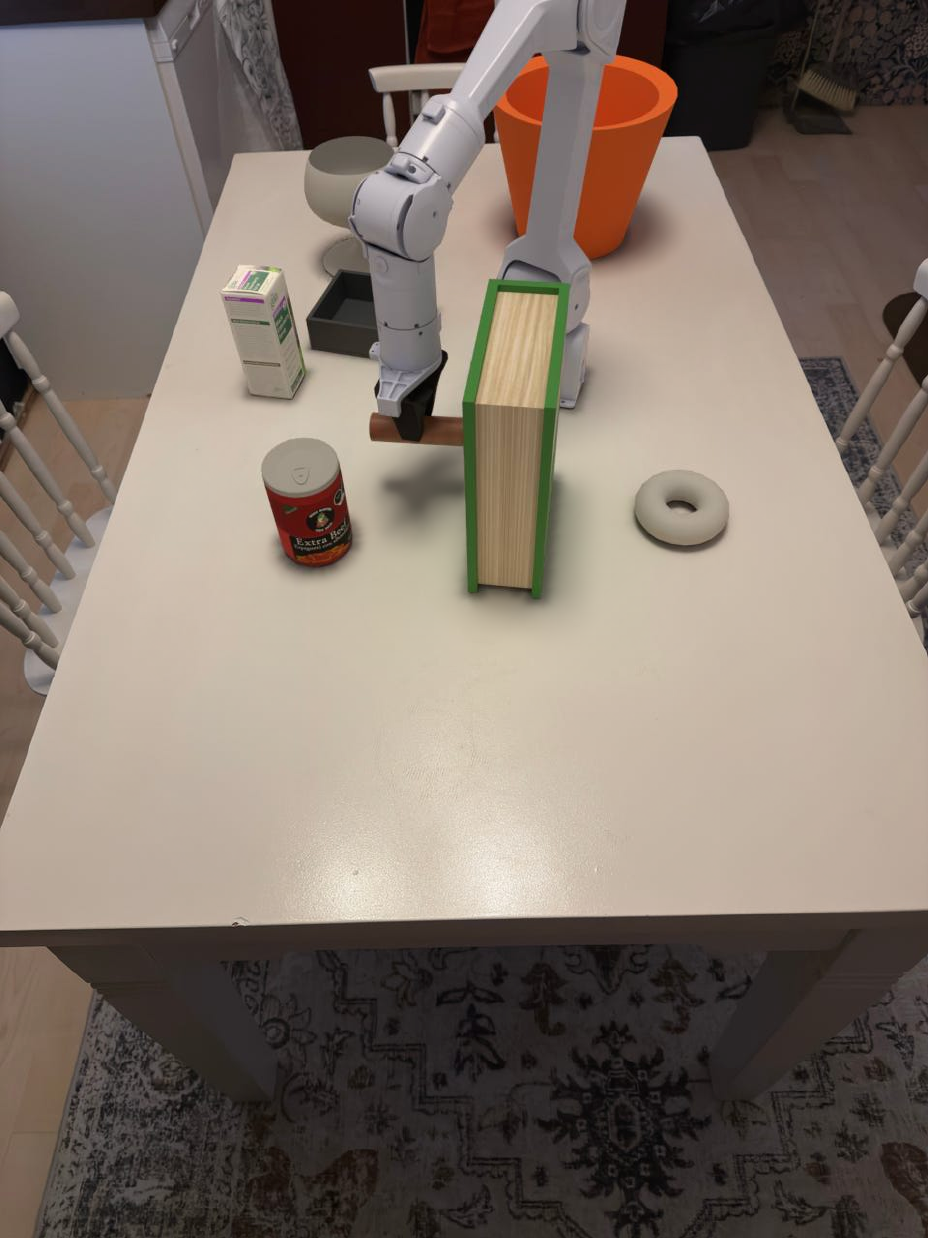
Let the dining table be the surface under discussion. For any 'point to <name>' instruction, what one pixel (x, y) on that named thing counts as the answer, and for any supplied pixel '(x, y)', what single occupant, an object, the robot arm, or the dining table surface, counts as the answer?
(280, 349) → the syrup box
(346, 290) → the bin
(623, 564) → the dining table surface
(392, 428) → the wooden dowel
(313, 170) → the chalice
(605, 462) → the dining table surface
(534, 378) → the hardback book
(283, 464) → the canned food
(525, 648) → the dining table surface
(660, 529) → the donut
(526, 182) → the flowerpot
